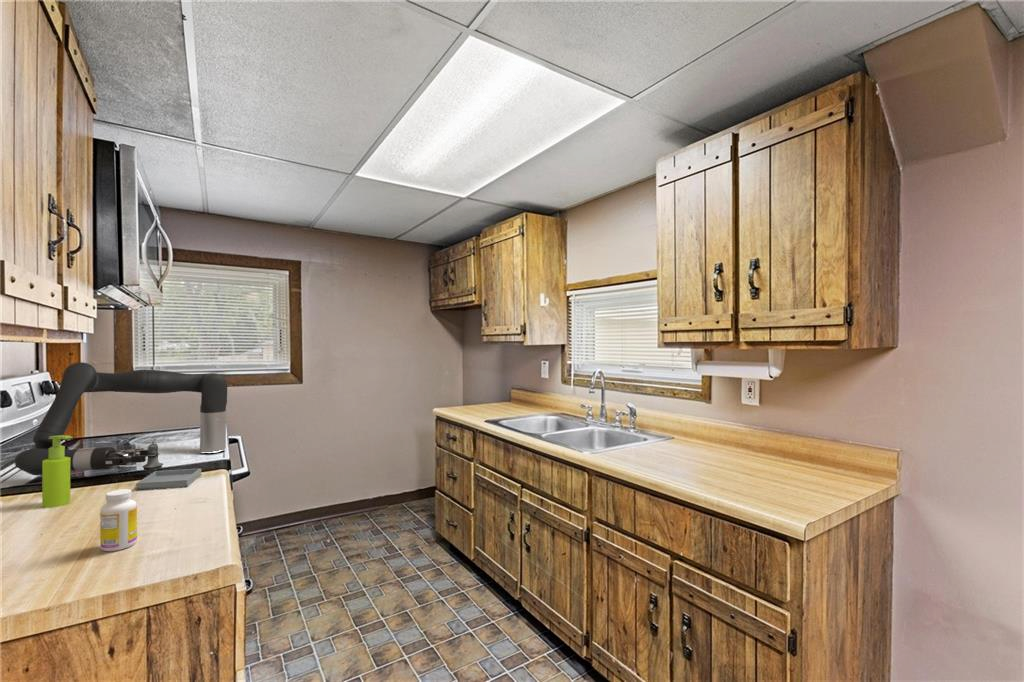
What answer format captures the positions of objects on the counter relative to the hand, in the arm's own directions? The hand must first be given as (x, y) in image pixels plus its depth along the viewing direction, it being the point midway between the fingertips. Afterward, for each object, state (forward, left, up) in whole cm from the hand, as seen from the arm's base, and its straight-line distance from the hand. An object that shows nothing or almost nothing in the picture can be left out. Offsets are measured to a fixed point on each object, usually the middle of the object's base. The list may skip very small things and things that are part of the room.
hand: (150, 455), depth 167 cm
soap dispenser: (+26, -13, -7) cm, 30 cm away
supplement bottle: (+63, +17, -7) cm, 66 cm away
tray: (+11, +10, -7) cm, 16 cm away
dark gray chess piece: (0, +1, -7) cm, 7 cm away
